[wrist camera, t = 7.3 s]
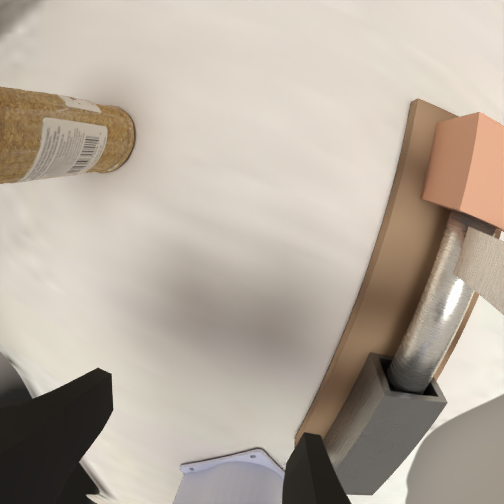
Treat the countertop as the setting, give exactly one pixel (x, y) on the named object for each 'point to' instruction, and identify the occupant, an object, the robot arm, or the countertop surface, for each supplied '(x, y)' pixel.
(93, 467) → the countertop surface
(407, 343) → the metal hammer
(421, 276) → the walnut board
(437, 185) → the socket
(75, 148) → the sprinkles bottle
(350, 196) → the countertop surface
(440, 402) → the sleeve
